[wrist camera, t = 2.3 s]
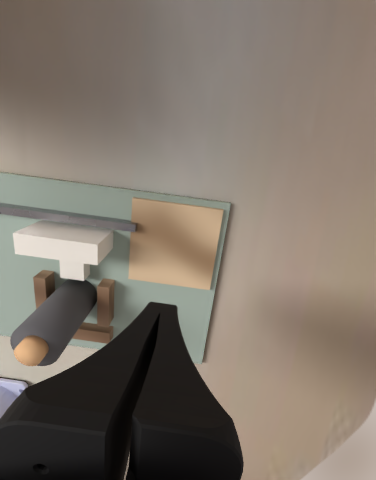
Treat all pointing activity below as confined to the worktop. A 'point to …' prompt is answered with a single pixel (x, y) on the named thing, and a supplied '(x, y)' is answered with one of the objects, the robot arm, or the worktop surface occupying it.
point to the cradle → (105, 307)
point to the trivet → (173, 243)
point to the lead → (53, 323)
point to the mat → (111, 267)
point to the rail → (68, 217)
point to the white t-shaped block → (65, 245)
